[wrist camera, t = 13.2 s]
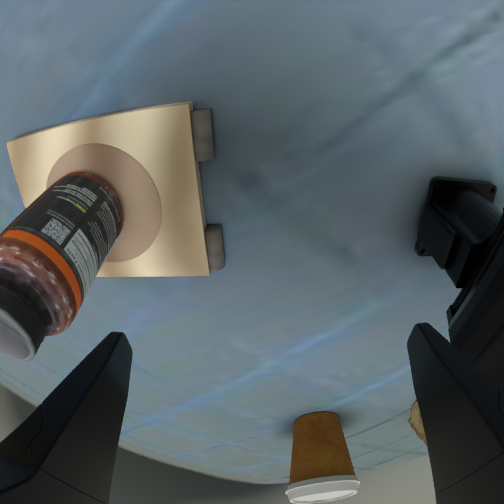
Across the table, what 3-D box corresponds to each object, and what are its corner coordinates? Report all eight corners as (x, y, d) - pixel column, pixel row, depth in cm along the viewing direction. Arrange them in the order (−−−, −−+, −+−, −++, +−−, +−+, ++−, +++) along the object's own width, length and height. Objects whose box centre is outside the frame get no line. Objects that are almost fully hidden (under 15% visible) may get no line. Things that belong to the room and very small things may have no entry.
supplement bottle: (58, 238, 21) (-20, 353, 12) (49, 164, 17) (-64, 268, 8) (128, 251, 21) (65, 387, 12) (127, 172, 18) (27, 300, 9)
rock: (427, 432, 42) (469, 410, 36) (412, 468, 36) (458, 450, 30) (390, 399, 45) (431, 374, 39) (372, 435, 39) (417, 413, 33)
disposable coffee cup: (270, 428, 41) (271, 503, 31) (308, 401, 36) (316, 490, 26) (322, 435, 43) (329, 503, 33) (363, 410, 38) (376, 487, 28)
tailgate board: (211, 99, 17) (207, 102, 16) (226, 265, 24) (224, 277, 23) (15, 137, 17) (4, 143, 16) (58, 267, 24) (51, 277, 23)
